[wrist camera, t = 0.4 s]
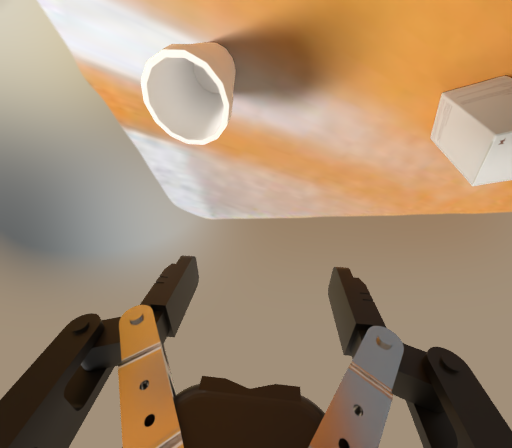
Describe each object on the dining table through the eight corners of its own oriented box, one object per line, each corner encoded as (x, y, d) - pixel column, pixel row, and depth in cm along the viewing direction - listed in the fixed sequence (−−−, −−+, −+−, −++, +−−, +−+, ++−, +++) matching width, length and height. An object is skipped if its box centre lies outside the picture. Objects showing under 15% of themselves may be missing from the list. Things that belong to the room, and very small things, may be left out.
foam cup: (257, 52, 29) (242, 83, 21) (233, 114, 36) (215, 156, 28) (189, 9, 27) (142, 25, 18) (177, 84, 34) (138, 121, 25)
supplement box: (428, 139, 36) (469, 188, 27) (441, 91, 30) (495, 133, 22) (484, 127, 33) (547, 176, 25) (509, 73, 28) (598, 113, 20)
